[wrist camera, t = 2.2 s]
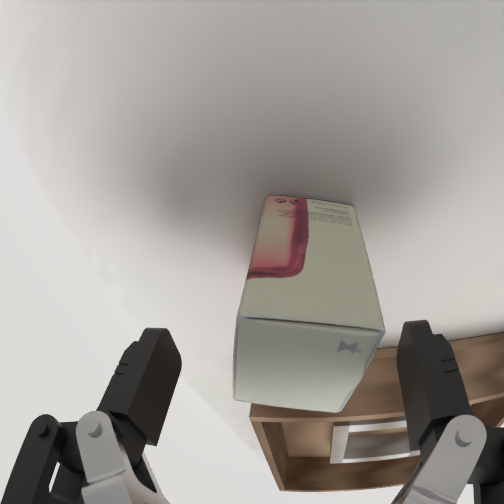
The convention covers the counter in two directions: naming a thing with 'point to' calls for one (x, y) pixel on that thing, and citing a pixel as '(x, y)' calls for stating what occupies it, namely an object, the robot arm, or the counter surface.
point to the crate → (370, 425)
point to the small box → (306, 308)
